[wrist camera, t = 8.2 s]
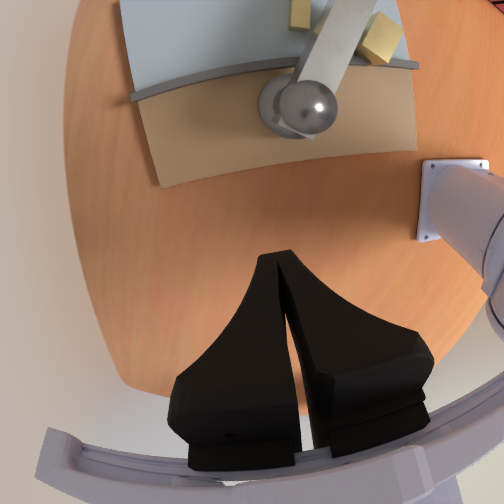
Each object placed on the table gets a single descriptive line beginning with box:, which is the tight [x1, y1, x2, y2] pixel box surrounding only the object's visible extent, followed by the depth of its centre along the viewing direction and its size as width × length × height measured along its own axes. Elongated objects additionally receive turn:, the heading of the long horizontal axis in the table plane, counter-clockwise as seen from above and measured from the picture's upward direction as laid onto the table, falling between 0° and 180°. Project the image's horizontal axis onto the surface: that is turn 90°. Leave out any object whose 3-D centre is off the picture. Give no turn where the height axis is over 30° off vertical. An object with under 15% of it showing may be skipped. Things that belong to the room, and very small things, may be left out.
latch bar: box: [271, 0, 377, 140], centre depth 11 cm, size 10×3×4 cm, turn 158°
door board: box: [119, 0, 419, 188], centre depth 14 cm, size 20×16×2 cm
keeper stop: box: [352, 11, 404, 67], centre depth 12 cm, size 3×2×3 cm, turn 155°
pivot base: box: [257, 73, 307, 140], centre depth 15 cm, size 4×4×2 cm
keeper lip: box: [288, 0, 311, 33], centre depth 12 cm, size 3×1×1 cm, turn 176°
